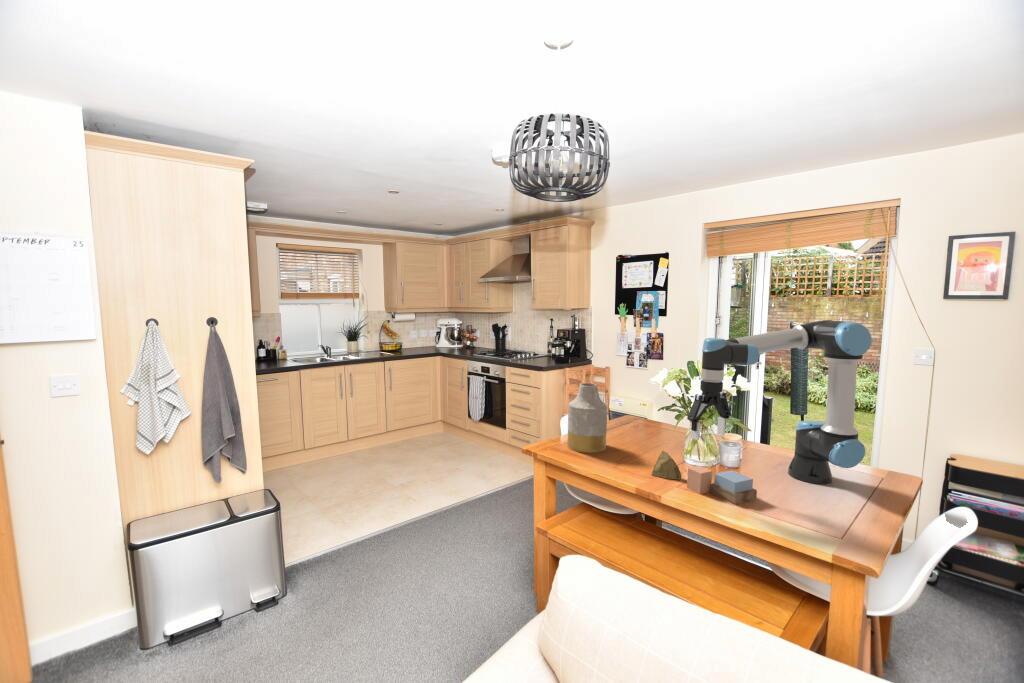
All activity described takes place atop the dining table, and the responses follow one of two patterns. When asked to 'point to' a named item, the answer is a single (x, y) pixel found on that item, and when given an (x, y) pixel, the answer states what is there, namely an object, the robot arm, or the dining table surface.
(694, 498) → the dining table surface
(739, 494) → the tower base
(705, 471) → the block
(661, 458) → the rock
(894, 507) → the dining table surface
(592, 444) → the vase
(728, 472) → the tower top
